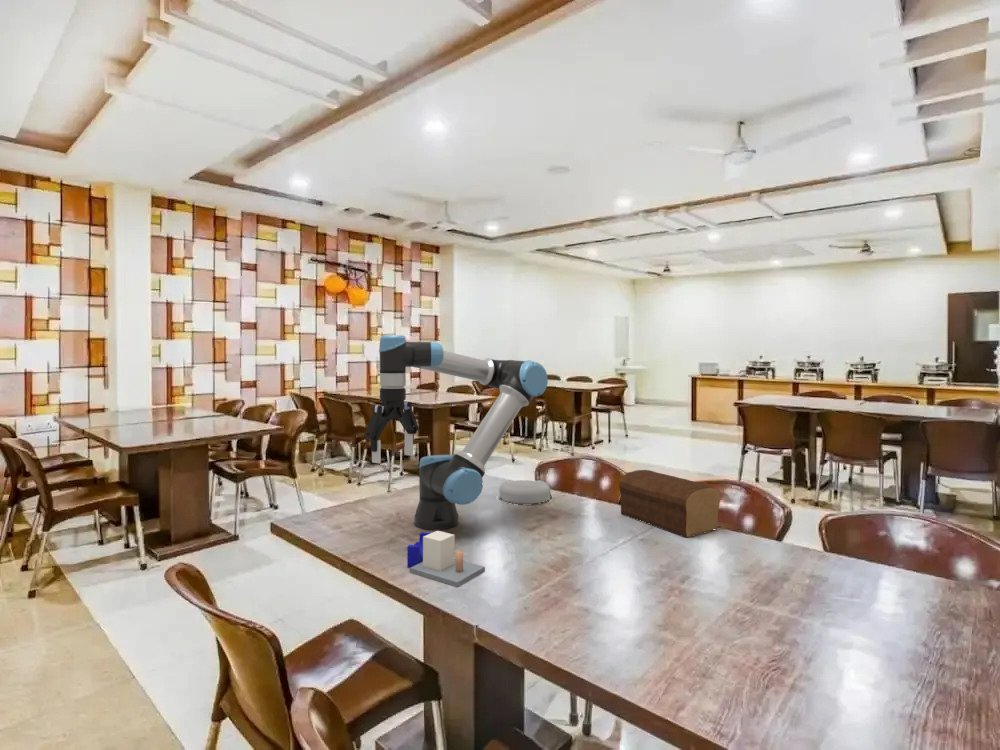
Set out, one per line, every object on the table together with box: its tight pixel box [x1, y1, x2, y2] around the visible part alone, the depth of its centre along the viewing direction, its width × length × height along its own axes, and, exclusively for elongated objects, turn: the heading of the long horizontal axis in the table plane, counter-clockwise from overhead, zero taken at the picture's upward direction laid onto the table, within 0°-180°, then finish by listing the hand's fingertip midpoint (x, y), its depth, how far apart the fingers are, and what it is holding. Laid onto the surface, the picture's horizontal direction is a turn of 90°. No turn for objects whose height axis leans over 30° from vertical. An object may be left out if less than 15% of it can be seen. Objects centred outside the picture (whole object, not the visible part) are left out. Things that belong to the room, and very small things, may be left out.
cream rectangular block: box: [423, 530, 456, 571], centre depth 152 cm, size 6×6×8 cm
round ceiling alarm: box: [498, 479, 551, 506], centre depth 224 cm, size 25×25×6 cm
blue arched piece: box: [406, 531, 432, 569], centre depth 159 cm, size 12×4×6 cm, turn 170°
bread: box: [618, 469, 722, 538], centre depth 194 cm, size 18×30×16 cm, turn 32°
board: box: [409, 550, 486, 588], centre depth 150 cm, size 12×16×6 cm
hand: (393, 458), depth 167 cm, fingers open, 13 cm apart
